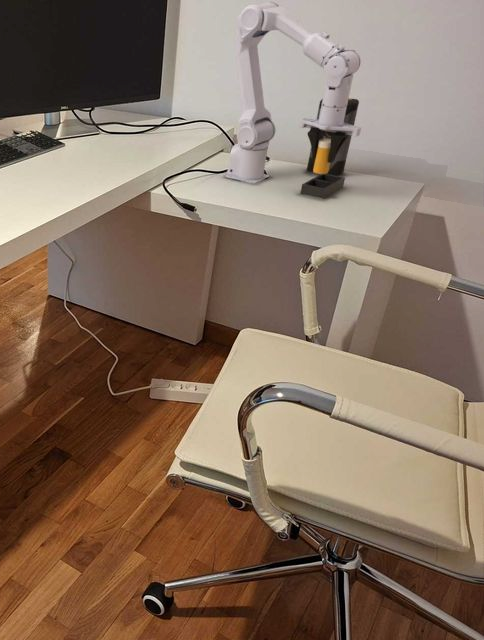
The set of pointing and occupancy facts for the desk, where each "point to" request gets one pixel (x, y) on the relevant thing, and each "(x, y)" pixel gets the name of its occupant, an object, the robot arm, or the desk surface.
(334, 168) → the electronic device
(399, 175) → the desk surface
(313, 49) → the robot arm
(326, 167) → the pill bottle
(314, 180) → the organizer
